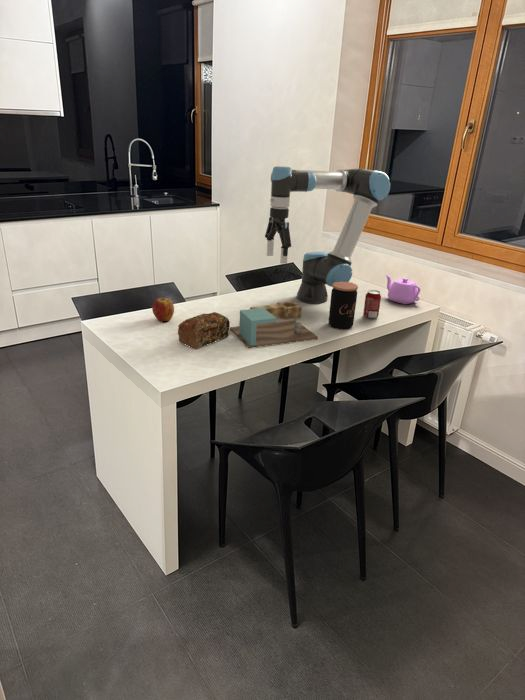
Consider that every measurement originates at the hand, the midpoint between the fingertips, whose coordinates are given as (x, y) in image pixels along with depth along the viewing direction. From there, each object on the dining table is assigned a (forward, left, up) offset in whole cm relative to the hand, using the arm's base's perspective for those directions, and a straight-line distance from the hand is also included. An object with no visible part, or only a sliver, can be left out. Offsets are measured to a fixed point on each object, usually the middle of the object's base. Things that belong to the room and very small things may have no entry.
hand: (276, 259), depth 208 cm
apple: (-10, -46, -26) cm, 54 cm away
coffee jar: (+18, +24, -26) cm, 40 cm away
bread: (+15, -36, -26) cm, 47 cm away
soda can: (+13, +43, -26) cm, 52 cm away
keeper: (+22, -17, -26) cm, 38 cm away
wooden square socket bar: (0, +1, -26) cm, 26 cm away
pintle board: (+18, -8, -26) cm, 33 cm away
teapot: (-3, +72, -26) cm, 76 cm away
